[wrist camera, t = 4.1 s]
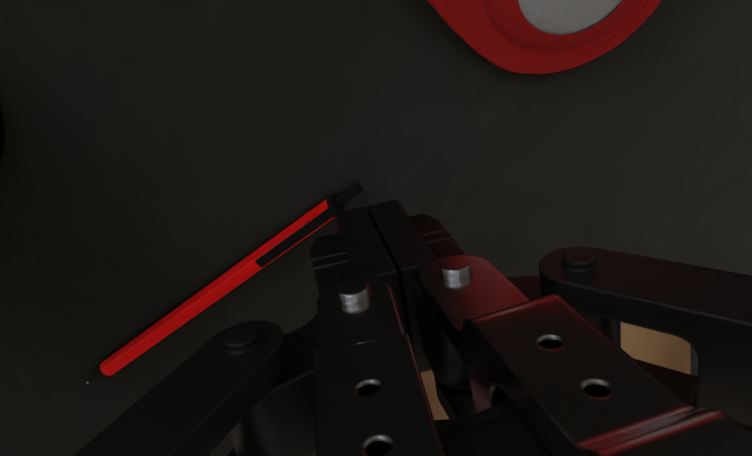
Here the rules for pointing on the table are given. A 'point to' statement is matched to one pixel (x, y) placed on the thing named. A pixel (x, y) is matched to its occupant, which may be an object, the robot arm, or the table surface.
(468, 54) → the table surface
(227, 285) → the pen
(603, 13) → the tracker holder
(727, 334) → the robot arm
